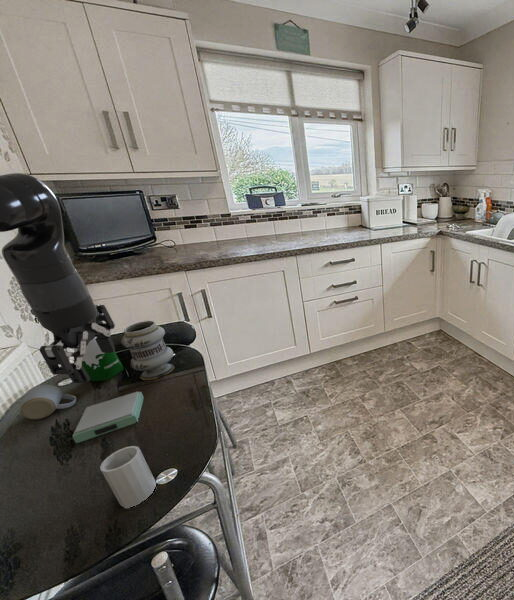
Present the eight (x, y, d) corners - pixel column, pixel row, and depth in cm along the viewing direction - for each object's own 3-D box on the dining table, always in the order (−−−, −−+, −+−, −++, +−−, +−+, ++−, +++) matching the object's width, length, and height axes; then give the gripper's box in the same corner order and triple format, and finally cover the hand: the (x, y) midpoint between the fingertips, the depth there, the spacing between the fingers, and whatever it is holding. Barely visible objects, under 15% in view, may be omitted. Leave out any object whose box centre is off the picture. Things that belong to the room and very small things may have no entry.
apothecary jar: (143, 386, 106) (122, 337, 100) (132, 375, 113) (111, 329, 107) (183, 368, 115) (166, 322, 108) (170, 359, 122) (154, 315, 115)
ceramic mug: (25, 425, 92) (12, 403, 89) (32, 411, 98) (20, 389, 95) (75, 409, 98) (64, 387, 95) (79, 396, 104) (69, 375, 101)
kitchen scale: (75, 444, 83) (70, 435, 82) (89, 415, 94) (85, 406, 93) (137, 423, 89) (133, 414, 88) (143, 397, 100) (140, 389, 99)
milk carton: (107, 382, 110) (82, 329, 103) (82, 383, 111) (55, 330, 104) (128, 367, 119) (106, 317, 111) (105, 368, 119) (82, 319, 112)
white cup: (117, 514, 64) (96, 477, 60) (123, 490, 69) (104, 455, 66) (155, 497, 67) (137, 461, 63) (158, 476, 72) (141, 441, 68)
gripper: (62, 277, 62) (96, 343, 70) (-2, 321, 50) (48, 395, 58) (108, 277, 63) (136, 342, 72) (56, 320, 51) (97, 392, 60)
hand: (96, 366), depth 65 cm, fingers open, 8 cm apart
